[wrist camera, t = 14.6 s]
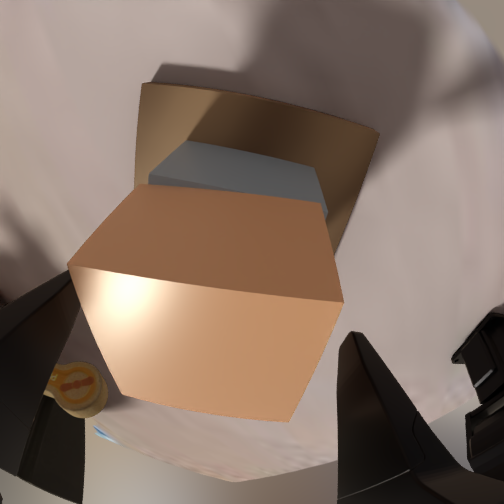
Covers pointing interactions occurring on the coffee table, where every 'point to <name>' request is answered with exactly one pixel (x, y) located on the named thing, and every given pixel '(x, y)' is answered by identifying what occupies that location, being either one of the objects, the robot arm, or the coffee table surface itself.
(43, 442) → the flower pot
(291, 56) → the coffee table surface
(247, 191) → the slate-blue block
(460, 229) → the coffee table surface
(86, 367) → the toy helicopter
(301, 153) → the walnut base plate
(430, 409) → the coffee table surface
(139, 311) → the terracotta block
